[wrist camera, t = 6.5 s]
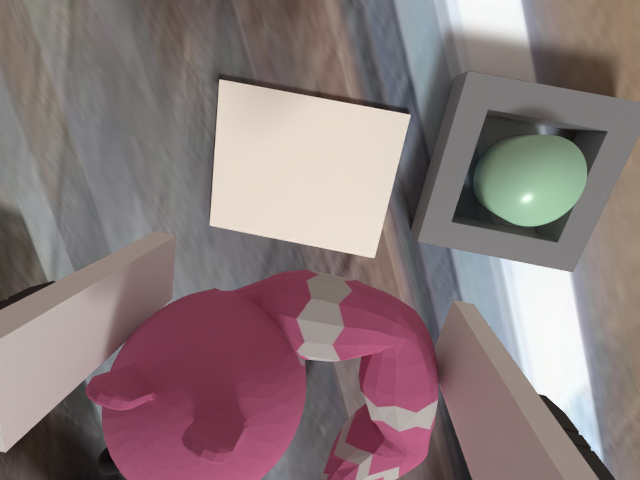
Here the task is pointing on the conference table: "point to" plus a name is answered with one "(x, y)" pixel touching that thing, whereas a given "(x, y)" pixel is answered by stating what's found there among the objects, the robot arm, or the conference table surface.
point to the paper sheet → (304, 167)
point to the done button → (530, 178)
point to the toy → (266, 382)
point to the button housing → (533, 107)
